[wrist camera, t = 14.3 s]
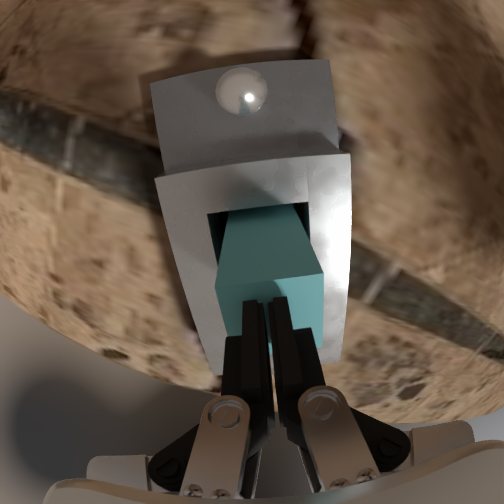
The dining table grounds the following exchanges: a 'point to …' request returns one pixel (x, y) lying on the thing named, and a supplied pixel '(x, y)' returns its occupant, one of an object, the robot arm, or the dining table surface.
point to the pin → (269, 268)
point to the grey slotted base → (253, 177)
